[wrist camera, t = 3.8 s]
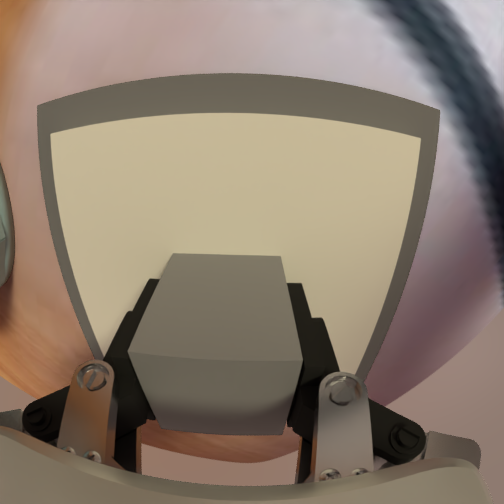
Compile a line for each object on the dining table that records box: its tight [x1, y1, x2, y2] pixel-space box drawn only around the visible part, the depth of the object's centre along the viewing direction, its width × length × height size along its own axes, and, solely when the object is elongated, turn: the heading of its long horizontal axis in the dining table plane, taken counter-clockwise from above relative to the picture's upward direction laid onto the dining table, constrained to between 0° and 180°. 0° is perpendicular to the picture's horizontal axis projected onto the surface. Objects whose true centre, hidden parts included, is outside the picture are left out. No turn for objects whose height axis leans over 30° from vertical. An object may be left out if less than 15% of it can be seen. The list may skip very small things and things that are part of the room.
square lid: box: [50, 113, 421, 435], centre depth 9 cm, size 14×14×6 cm
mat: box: [37, 73, 440, 382], centre depth 12 cm, size 17×17×1 cm
